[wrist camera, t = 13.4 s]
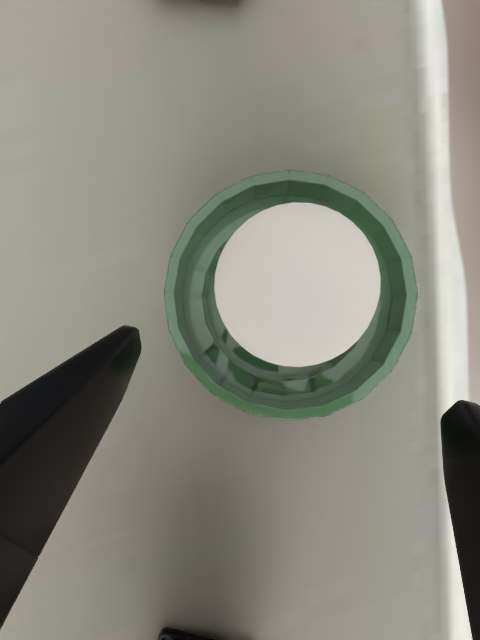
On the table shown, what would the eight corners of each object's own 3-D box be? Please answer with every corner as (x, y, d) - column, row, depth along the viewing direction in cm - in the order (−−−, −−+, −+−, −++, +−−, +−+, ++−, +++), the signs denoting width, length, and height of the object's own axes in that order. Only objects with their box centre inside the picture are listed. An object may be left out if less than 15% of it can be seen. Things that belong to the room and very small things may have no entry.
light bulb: (305, 236, 21) (355, 131, 10) (350, 327, 20) (453, 322, 10) (215, 279, 21) (166, 225, 10) (257, 370, 21) (254, 414, 10)
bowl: (367, 419, 21) (394, 442, 17) (167, 381, 22) (145, 393, 17) (400, 217, 21) (435, 189, 17) (202, 188, 22) (188, 155, 18)
